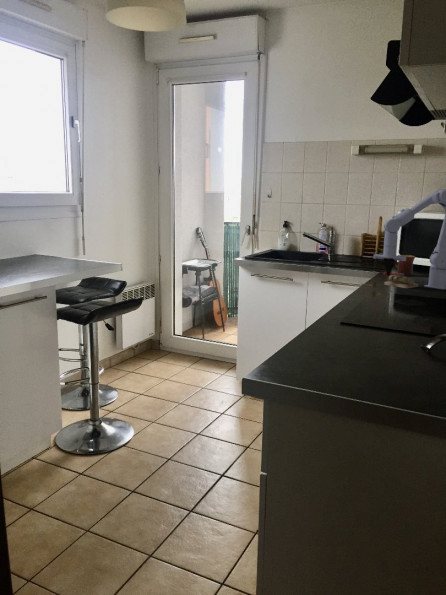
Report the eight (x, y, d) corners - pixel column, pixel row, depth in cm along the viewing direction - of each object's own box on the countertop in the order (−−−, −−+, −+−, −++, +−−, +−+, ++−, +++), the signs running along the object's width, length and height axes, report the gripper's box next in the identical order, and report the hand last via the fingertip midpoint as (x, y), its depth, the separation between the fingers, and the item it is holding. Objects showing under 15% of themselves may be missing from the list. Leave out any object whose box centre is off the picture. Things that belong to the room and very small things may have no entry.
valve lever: (403, 275, 232) (404, 272, 231) (404, 276, 230) (404, 273, 230) (383, 274, 234) (383, 271, 234) (383, 275, 232) (384, 272, 232)
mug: (417, 276, 261) (418, 256, 258) (404, 277, 257) (406, 257, 255) (400, 272, 271) (401, 254, 269) (387, 273, 268) (389, 254, 266)
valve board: (418, 286, 230) (418, 277, 229) (407, 288, 225) (408, 279, 224) (394, 282, 239) (395, 274, 238) (384, 284, 234) (384, 275, 233)
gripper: (409, 246, 227) (406, 275, 229) (378, 244, 235) (376, 272, 238) (404, 247, 221) (401, 277, 224) (372, 245, 230) (370, 274, 232)
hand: (388, 275), depth 230 cm, fingers closed, pressing on valve lever
